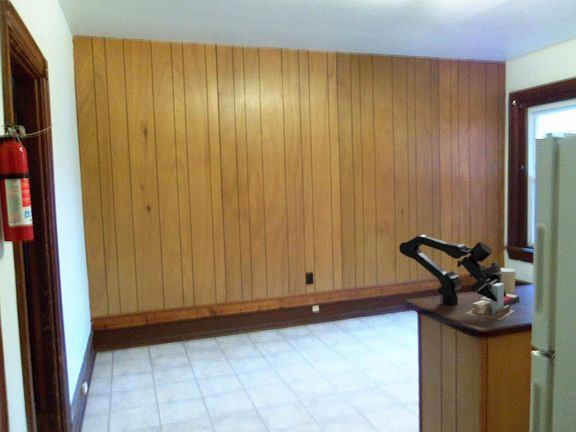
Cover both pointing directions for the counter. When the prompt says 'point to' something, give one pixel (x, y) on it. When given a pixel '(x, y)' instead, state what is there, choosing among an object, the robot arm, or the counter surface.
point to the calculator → (505, 299)
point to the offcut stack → (481, 306)
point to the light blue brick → (498, 297)
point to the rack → (499, 314)
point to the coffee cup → (508, 279)
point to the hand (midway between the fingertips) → (501, 298)
